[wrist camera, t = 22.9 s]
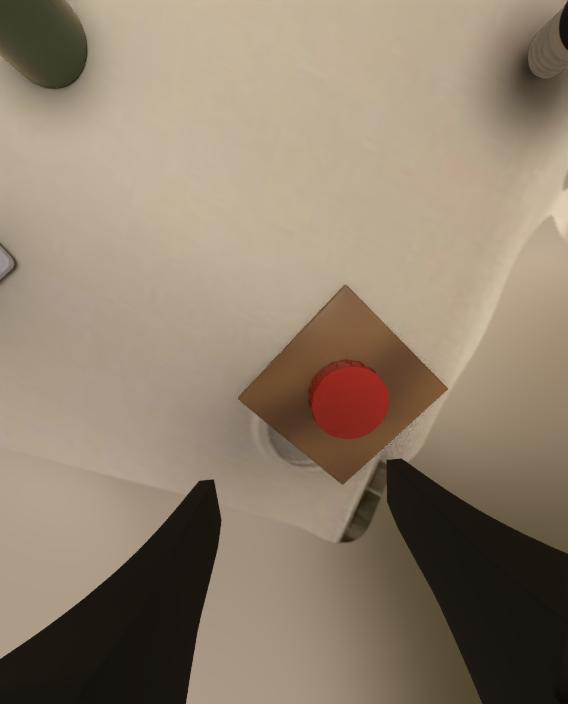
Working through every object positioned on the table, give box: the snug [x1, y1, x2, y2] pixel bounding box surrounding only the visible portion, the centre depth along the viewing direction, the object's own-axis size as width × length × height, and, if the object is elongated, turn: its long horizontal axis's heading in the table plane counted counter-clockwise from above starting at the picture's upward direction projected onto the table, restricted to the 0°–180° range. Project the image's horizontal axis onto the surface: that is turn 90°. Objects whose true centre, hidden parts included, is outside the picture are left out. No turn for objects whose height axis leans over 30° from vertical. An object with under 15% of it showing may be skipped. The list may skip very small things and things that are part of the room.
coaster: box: [238, 285, 448, 485], centre depth 20 cm, size 11×11×1 cm
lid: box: [308, 359, 389, 439], centre depth 19 cm, size 5×5×2 cm
